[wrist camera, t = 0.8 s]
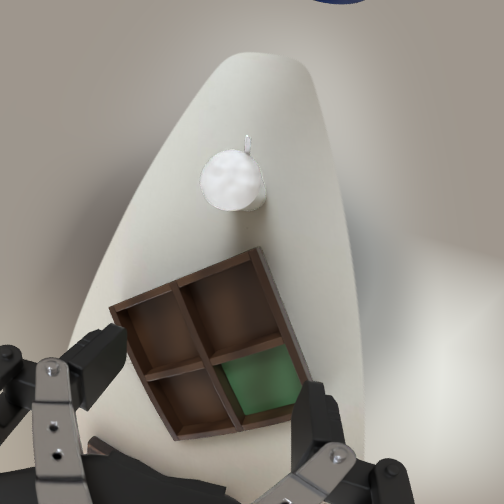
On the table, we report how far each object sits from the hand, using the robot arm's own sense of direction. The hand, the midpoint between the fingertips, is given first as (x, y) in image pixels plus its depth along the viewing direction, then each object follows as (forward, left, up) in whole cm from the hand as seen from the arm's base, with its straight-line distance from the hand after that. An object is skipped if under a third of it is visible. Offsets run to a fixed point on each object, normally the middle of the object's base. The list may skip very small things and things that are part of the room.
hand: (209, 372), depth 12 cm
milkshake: (-3, -10, -18) cm, 21 cm away
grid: (+7, +4, -18) cm, 20 cm away
